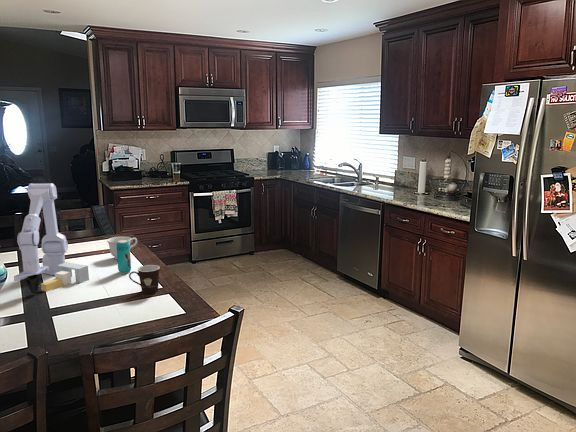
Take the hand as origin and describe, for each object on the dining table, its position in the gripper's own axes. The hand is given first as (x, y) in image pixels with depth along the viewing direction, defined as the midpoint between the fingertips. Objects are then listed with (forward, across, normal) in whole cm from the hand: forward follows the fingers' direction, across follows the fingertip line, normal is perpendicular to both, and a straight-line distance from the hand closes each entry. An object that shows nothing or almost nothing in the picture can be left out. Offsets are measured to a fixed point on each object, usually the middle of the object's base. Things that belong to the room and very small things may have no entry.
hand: (34, 292), depth 190 cm
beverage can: (+1, +37, -14) cm, 39 cm away
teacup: (+1, +55, +3) cm, 55 cm away
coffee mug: (+1, +22, -38) cm, 44 cm away
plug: (+1, +10, 0) cm, 11 cm away
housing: (+1, +20, 0) cm, 20 cm away
